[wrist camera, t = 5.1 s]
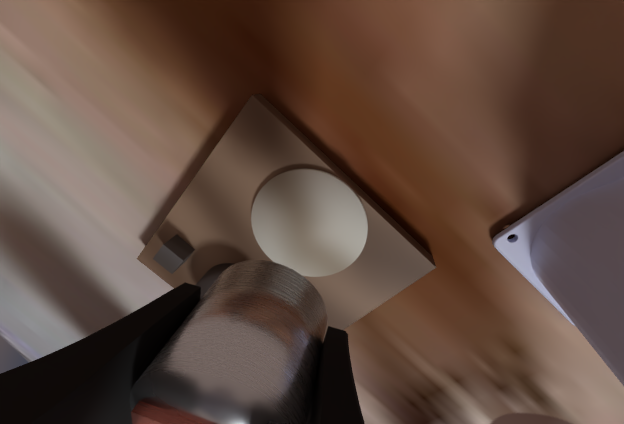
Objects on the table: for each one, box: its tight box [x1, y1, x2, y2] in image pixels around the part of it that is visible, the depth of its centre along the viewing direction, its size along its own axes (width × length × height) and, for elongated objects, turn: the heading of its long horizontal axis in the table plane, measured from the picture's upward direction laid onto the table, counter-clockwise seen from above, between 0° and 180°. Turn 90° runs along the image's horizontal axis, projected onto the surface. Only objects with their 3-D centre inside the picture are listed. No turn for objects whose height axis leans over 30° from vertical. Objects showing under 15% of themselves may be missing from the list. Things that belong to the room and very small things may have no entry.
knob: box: [130, 260, 327, 424], centre depth 9 cm, size 5×5×5 cm
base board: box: [137, 94, 436, 338], centre depth 19 cm, size 15×14×3 cm
